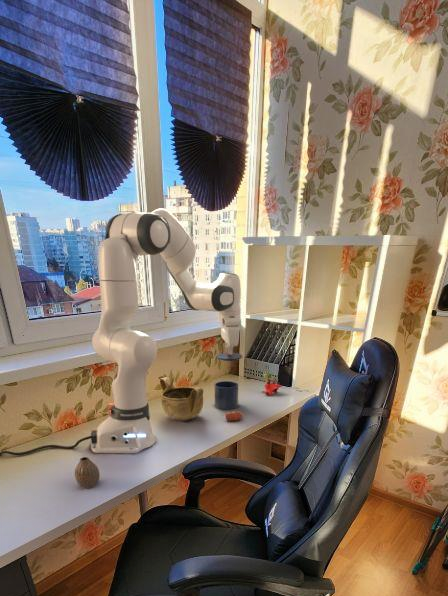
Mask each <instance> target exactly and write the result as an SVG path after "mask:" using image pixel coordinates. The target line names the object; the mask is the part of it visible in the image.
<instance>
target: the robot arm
mask: <svg viewBox="0 0 448 596" xmlns="http://www.w3.org/2000/svg"><path fill="white" fill-rule="evenodd" d="M196 247H197V246H196V245H195V243H194V240H193V238H192V236H191V235H190V234H189V233H188V232H187V230H186V228H185V227H184V226H183V225H182V224H181V222H180V221H179V220H178V218H176V216H174V215H173V214H172V213H171V212H170V211H169V210H168V209H166V208H157V209H155V210H153V211H152V212H137V211H132V212H126V213H117V214H116V215H114V216H111V218H109V220H108V221H107V223H106V225H105V236H104V239H103V240H102V241H101V242H100V244H99V248H98V263H97V264H98V281H99V290H100V301H101V309H100V311H101V312H100V319H99V325H98V328H97V329H96V331H95V332H94V334H93V335H92V339H91V344H92V348H93V350H94V352H95V353H96V354H97V355H98V356H99V357H101V358H103V359H104V360H106V361H108V362H113V363H117V367H118V369H117V376H116V377H115V378H114V379H113V381H112V383H111V391H112V397H113V402H110V403H109V404H108V414H109V416H108V417H107V418H106V419H105V420H103V421H102V422H101V423H100V424H99V425H98V427H97V429H94V430H91V431H90V435H88V436H86V437H85V436H84V437H82V438H80V439H78V440H77V441H76V443H74V444H73V445H69V446H66V445H65V446H64V445H59V444H46V445H42V446H38V447H35V448H32V449H29V450H26V451H25V450H24V451H21V452H14V451H10V450H2V451H0V457H1V456H2V455H4V454H7V455H12V456H23V455H28V454H31V453H34V452H36V451H39V450H40V451H41V450H43V449H48V448H49V449H50V448H55V449H56V448H57V449H62V450H63V449H64V450H65V449H66V450H71V449H75V448H77V447H78V446H79V444H81V443H82V442H84V441H87V440H90V441H91V443H90V450H91V451H92V452H93V453H94V454H137V453H140V452H141V451H143V450H144V449H147V448H149V447H151V446H154V444H155V443H156V438H155V435H154V432H153V430H152V426H151V421H150V419H151V409H150V406H149V402H148V397H147V376H148V372H149V368H150V367H151V366H152V365H153V364H154V363H155V361H156V360H157V357H158V344H157V343H156V340H155V339H154V338H153V337H151V336H149V335H148V334H146V333H144V332H142V331H139V330H134V329H131V324H132V318H133V316H134V314H135V313H137V311H138V310H139V307H140V306H139V304H140V302H139V290H138V277H137V268H136V262H137V260H138V259H137V258H138V256H149V255H150V256H155V255H158V254H159V255H160V256H161V258H162V259H163V260H164V262H165V267H166V269H167V271H168V273H169V275H170V276H171V278H172V279H173V281H174V282H175V284H176V286H177V287H178V288H179V290H180V292H181V293H182V295H183V298H184V301H185V304H186V305H187V307H188V308H189V309H190V310H192V311H204V312H205V311H206V312H217V318H218V320H217V322H218V323H219V324H221V325H220V336H221V339H222V340H223V341H224V343H225V348H226V347H228V354H229V355H232V353H234V351H233V349H234V347H238V345H239V342H240V330H241V329H240V327H241V326H242V319H241V305H240V303H241V299H242V293H241V292H242V289H241V280H240V277H239V275H238V274H236V273H232V272H221V273H220V274H219V276H218V278H217V279H216V280H214V281H213V282H212V283H207V282H199V281H197V280H195V279H194V277H193V276H192V274H191V273H190V271H189V270H188V269H189V268H190V267H191V266H192V264H193V263H194V261H195V258H196V254H197V248H196Z"/></svg>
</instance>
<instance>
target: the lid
mask: <svg viewBox="0 0 448 596" xmlns="http://www.w3.org/2000/svg"><path fill="white" fill-rule="evenodd" d="M215 357H216V359H218V360H221V361H224V362H232V361H239V360H241V359H242V358H243V355H242V354H240V353H237V352H236V353H235V352H232V355H229V354H228V347H226V346H225V352H221V353H217V354H216V356H215Z"/></svg>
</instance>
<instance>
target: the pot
mask: <svg viewBox="0 0 448 596" xmlns="http://www.w3.org/2000/svg"><path fill="white" fill-rule="evenodd" d="M213 386H214V387H213V389H214V407H215V409H218V410H228V411H229V410H234V409H237V407H239V383H238V382H237V381H231V380H223V381H217V382H216V383H215V382H214V385H213Z"/></svg>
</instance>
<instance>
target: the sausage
mask: <svg viewBox="0 0 448 596" xmlns="http://www.w3.org/2000/svg"><path fill="white" fill-rule="evenodd" d="M224 417H225V419H226V420H227V421H228V422H234V421H235V422H237V421H241V420H242V419H243V417H244V415H243V413H242V412H241V411H236V410H235V411H227V412H226V413H225V416H224Z"/></svg>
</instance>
